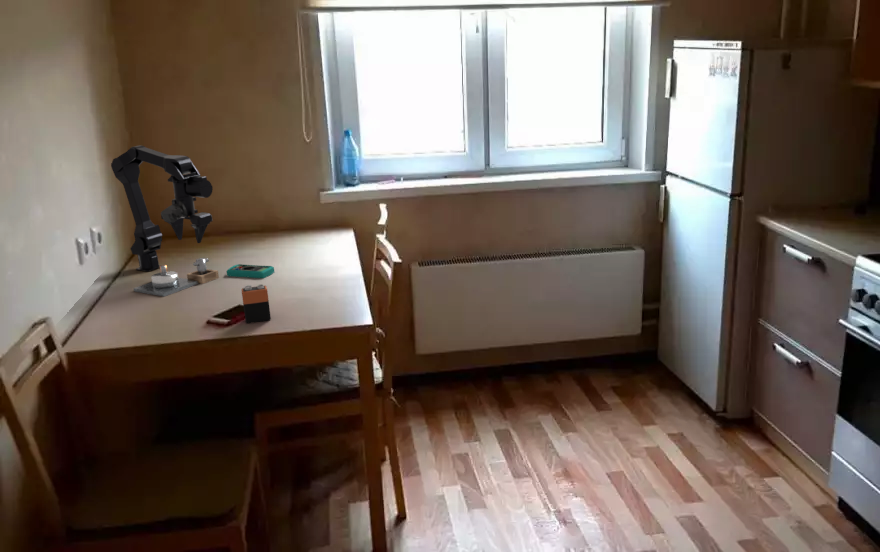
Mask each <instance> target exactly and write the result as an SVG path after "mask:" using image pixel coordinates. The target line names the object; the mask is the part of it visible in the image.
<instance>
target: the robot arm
mask: <svg viewBox="0 0 880 552" xmlns="http://www.w3.org/2000/svg"><path fill="white" fill-rule="evenodd" d="M143 162H144V163H148V164H151V165H154V166H157V167H159V168H162V170H164V171H165V173H167V174H168V175H170V176H169V177H168V179H167V182H169V183H172V186H173V193H174V194H173V195H174V198H173V199H171V205H169V206H167V207H165V209H163V210H162V211H161V212H160V218H161V220H163V221H164V222H166V223H167V224H168V225H170V226H171V228H172V230H173V232H174V233H175V235H176V238H177V240H178V241H181V240H183V233H184V232H183V231H184V220H188V221H189V220H190V222H191V224H190V226H191V227H192V228H193V230H194V233H195V234H194V235H195V238H196V239H195V240H196V242H197V244H201V243H202V240H203V237H204V234H205V231H206V229H207V227H208V225H210V224H211V222H213V215H212V214H211V213H210V212H199V211H198V209H195V201H197V198H203V199H205V198H206V199H207V198H209V197H210V196H211V195H212V193H213V185H212V182H211V181H209V180H208V179H207V176H204V175H203V176H202V175H201V174H200V172H199V170H198V169H197V168H196V166H195V165H194V163H193V161H192V160H191V157H189V156H186V155H180V154H179V155H171V154H166V153H164V152H162V151H161V152H160V151H158V150H154V149H153V148H149V147H146V146H144V145H142V144H141V145H136V146H131V147H129V149H127V151H125V152H124V153H122V154H121V155H118V156H117V157H115V158H113V159H112V162H111V163H110V167H111V170H112V172H113V174H114V176H115V178H116V179H117V180H118V181H119V182H120V184H122V185H123V188H124V191H125V195H126V198H127V201H128V205H129V208H130V210H131V214H132V217H133V220H134V223H135V228H134V232H133V236H134V240H135V241H134V242H133V244H132V245H131V247H130V251H131V254H132V255H137V259H138V266H139V267H136V269H135V270H136V271H140V272H141V271H142V272H152V271H154V270H157V269H160V266H161V265H162V264H160V263H159V257H158V254H157V251H159V250H161V246H162V242H163V238H162V237H163V234H162V231H161V228H160V226H159V224H154V223H153V222H152V220H151V218H150V215H149V212H148V208H147V205H146V201H145V199H144V195H143V192H142V189H141V185H140V183H139V178H140V174H141V170H140V165H141V164H142V163H143Z"/></svg>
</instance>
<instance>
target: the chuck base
mask: <svg viewBox="0 0 880 552" xmlns="http://www.w3.org/2000/svg"><path fill="white" fill-rule="evenodd" d="M178 279H179V283H178V284H177V285H174V286H171V287H165V288H156V287H153V284H152V281H151V282H147V283H145V284H141V285H139V286H136V287H133V291H134V292H136V293H142V294H148V295H152V296H153V295H154V296H158V297H167V296H170V295H172V294H175V293H177V292H180V291H182V290H185V289H188V288H191V287H193V286H197V285H199V283H198V281H196V280H190V279H187V278H182V277H178Z"/></svg>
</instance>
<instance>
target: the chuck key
mask: <svg viewBox="0 0 880 552" xmlns="http://www.w3.org/2000/svg"><path fill="white" fill-rule="evenodd" d="M207 262H209V258H205V257H200V258H195V262H193V264H192V265H193V267H196V271H197V272H198V275H204V274H207V269H208V268H207Z"/></svg>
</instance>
